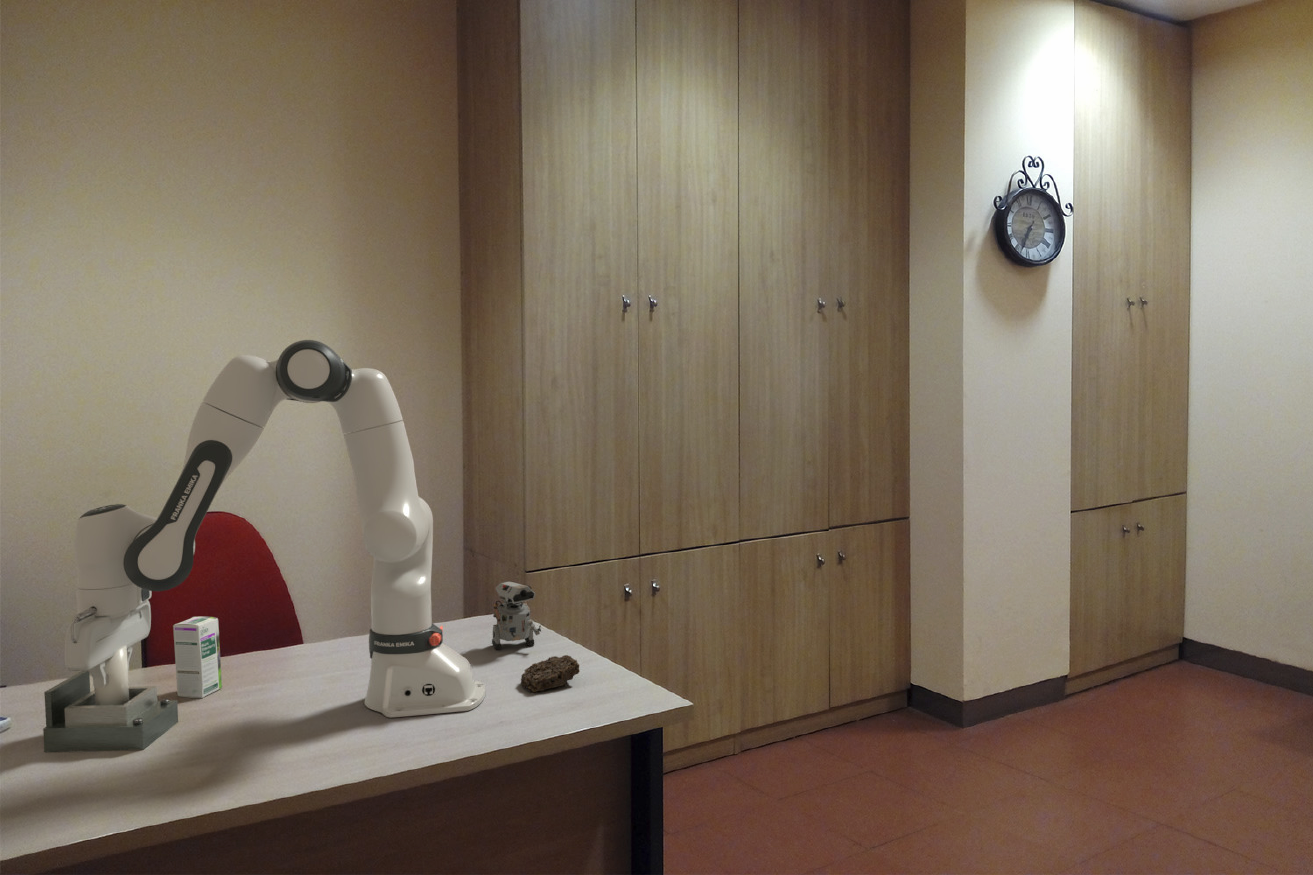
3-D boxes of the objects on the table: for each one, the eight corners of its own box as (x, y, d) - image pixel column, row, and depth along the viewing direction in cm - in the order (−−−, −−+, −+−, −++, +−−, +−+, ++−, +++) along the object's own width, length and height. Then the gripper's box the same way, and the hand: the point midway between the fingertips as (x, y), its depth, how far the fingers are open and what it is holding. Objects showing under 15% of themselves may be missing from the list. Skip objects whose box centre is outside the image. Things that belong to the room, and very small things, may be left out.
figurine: (501, 658, 197) (500, 591, 196) (490, 643, 208) (489, 579, 207) (541, 653, 201) (541, 587, 199) (529, 639, 211) (528, 576, 210)
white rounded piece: (135, 699, 158) (132, 643, 157) (119, 710, 153) (116, 652, 152) (91, 700, 157) (88, 644, 156) (74, 711, 152) (71, 653, 151)
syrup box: (202, 698, 173) (199, 624, 172) (175, 696, 174) (172, 623, 173) (222, 688, 179) (219, 616, 178) (196, 686, 180) (193, 615, 179)
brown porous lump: (568, 672, 188) (568, 648, 188) (584, 688, 179) (583, 663, 179) (515, 680, 184) (514, 655, 183) (527, 696, 174) (527, 670, 174)
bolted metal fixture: (178, 721, 162) (175, 667, 161) (143, 749, 150) (140, 691, 149) (86, 723, 161) (84, 669, 160) (44, 751, 149) (41, 693, 148)
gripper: (91, 616, 143) (95, 700, 144) (156, 585, 164) (160, 660, 165) (50, 617, 143) (55, 701, 144) (120, 586, 163) (124, 660, 165)
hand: (111, 679), depth 155 cm, fingers closed on white rounded piece, 5 cm apart
